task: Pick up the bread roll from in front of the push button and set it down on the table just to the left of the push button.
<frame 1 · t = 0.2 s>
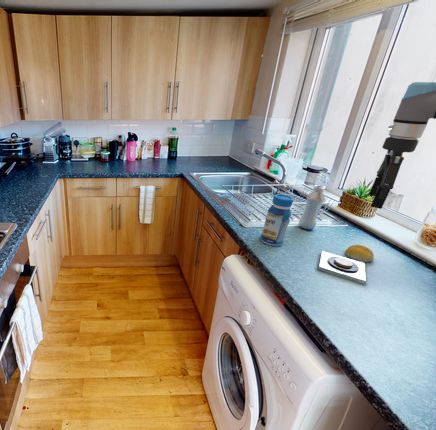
hand: (374, 201, 97), 24 cm above the worktop, tool pointing down, fingers open, 13 cm apart
plastic bottle: (305, 228, 131), on the worktop
bread roll: (357, 256, 110), on the worktop
beverage bottle: (270, 241, 119), on the worktop
push button: (340, 268, 103), on the worktop
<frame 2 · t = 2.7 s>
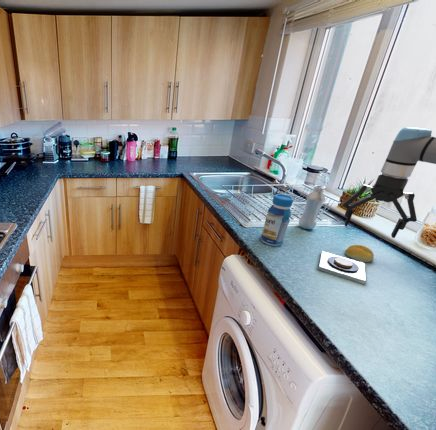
hand: (368, 230, 105), 11 cm above the worktop, tool pointing down, fingers open, 13 cm apart
nothing on the worktop moved.
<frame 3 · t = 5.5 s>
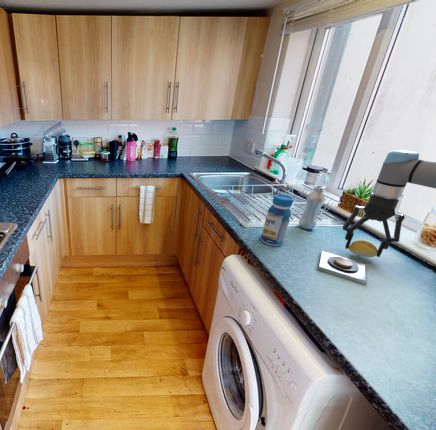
hand: (361, 251, 109), 3 cm above the worktop, tool pointing down, fingers closed on bread roll, 9 cm apart
bread roll: (361, 252, 109), point 2 cm above the worktop, touching gripper
everything else where it was.
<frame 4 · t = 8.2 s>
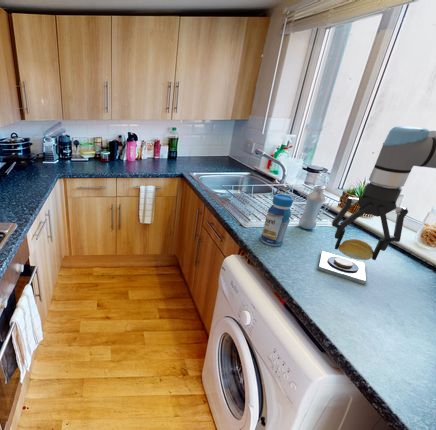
hand: (354, 252, 90), 12 cm above the worktop, tool pointing down, fingers closed on bread roll, 9 cm apart
bread roll: (353, 253, 90), point 12 cm above the worktop, touching gripper
everything else where it was.
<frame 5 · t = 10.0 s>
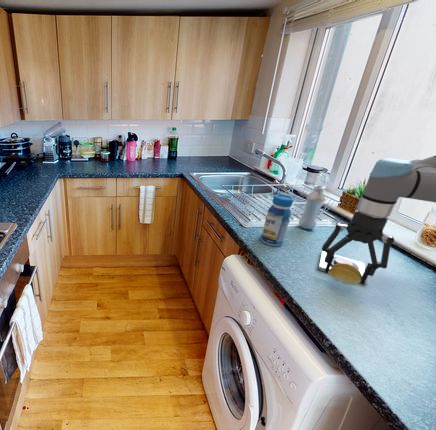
hand: (343, 276, 92), 4 cm above the worktop, tool pointing down, fingers closed on bread roll, 9 cm apart
bread roll: (342, 277, 92), point 3 cm above the worktop, touching gripper
everything else where it was.
when the fingers open (0 cm above the worktop, at t = 11.2 s): bread roll stays where it is, on the worktop.
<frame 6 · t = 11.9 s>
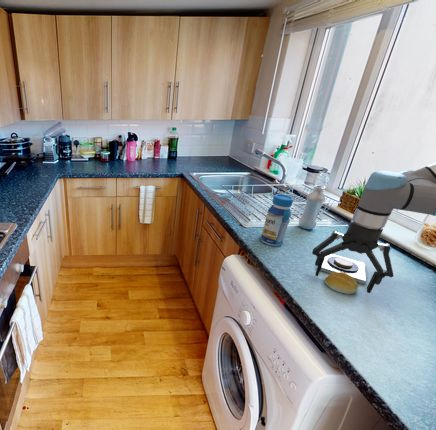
hand: (341, 282, 93), 2 cm above the worktop, tool pointing down, fingers open, 13 cm apart
bread roll: (339, 286, 94), on the worktop
everything else where it was.
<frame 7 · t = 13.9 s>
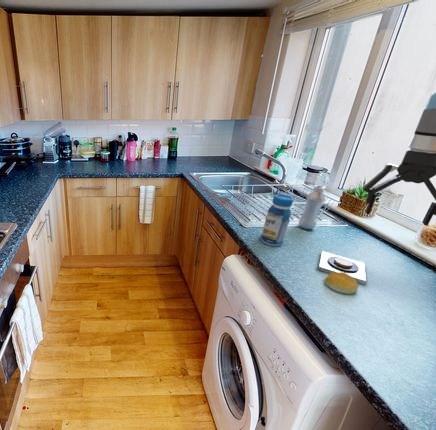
hand: (394, 218, 90), 22 cm above the worktop, tool pointing down, fingers open, 13 cm apart
nothing on the worktop moved.
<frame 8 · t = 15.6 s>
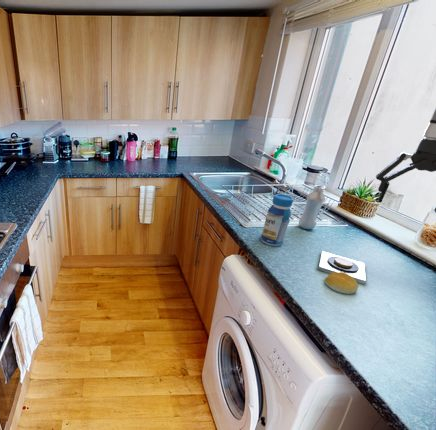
hand: (406, 206, 92), 25 cm above the worktop, tool pointing down, fingers open, 13 cm apart
nothing on the worktop moved.
at the end: bread roll inside the target area on the worktop beside the push button (0.5 cm from its centre), on the worktop; the gripper is holding nothing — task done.
